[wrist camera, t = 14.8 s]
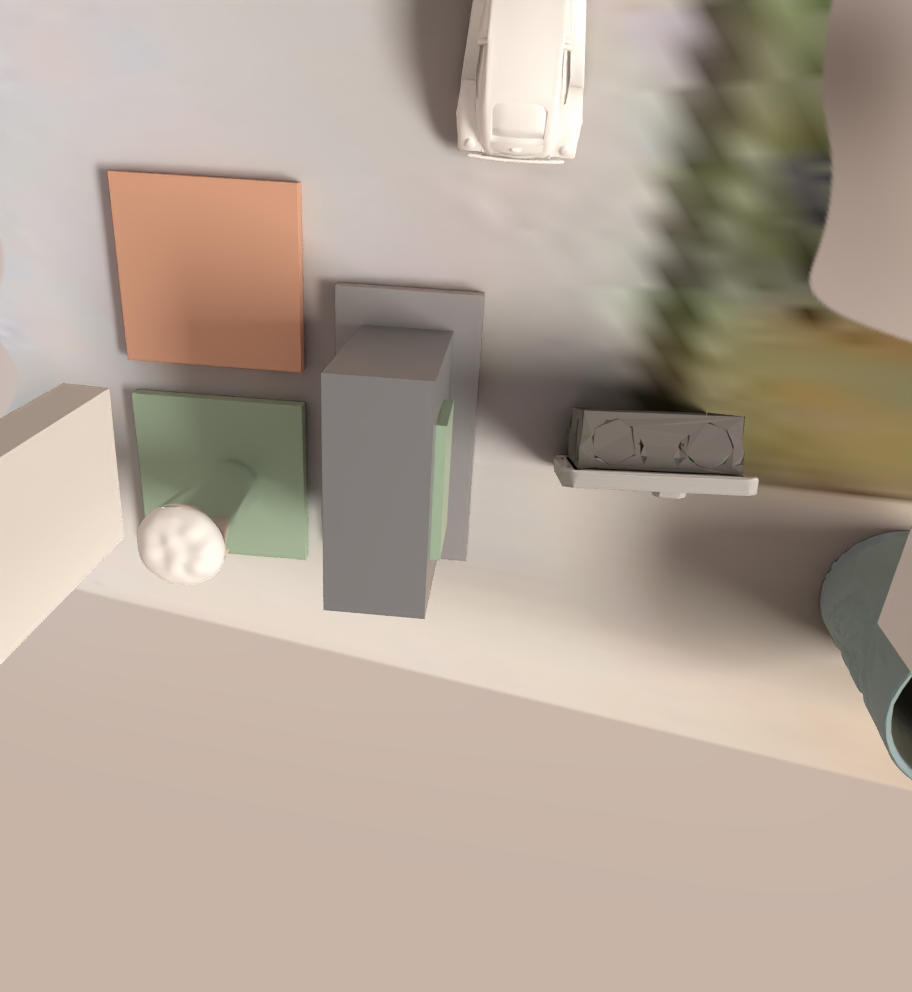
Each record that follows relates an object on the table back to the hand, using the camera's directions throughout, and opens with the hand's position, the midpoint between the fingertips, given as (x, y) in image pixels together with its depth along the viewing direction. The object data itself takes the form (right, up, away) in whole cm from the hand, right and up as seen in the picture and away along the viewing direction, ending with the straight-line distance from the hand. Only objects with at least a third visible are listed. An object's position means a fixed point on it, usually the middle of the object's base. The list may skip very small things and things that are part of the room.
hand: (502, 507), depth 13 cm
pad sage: (-15, +1, +37) cm, 40 cm away
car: (+3, +23, +26) cm, 35 cm away
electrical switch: (+9, +4, +34) cm, 35 cm away
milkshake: (-14, +1, +36) cm, 39 cm away
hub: (-4, +4, +35) cm, 35 cm away
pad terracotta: (-14, +12, +32) cm, 37 cm away
